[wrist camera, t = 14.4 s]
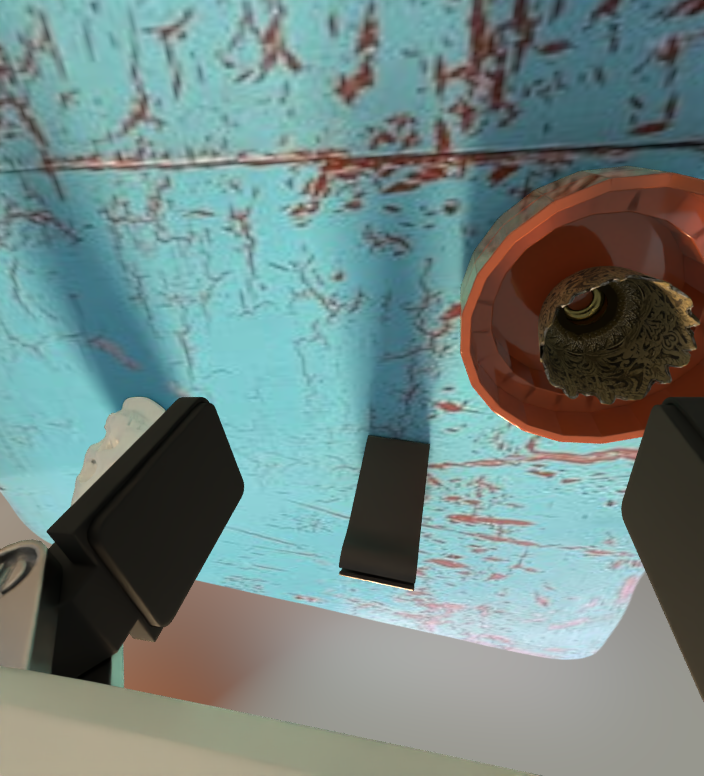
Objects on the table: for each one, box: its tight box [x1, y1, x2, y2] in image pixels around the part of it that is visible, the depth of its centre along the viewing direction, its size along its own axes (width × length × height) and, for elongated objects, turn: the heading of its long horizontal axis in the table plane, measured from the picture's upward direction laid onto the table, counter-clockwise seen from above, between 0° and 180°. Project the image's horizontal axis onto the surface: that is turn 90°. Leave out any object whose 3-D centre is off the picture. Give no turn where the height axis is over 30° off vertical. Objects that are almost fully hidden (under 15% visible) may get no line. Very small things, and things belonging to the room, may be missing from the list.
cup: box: [538, 266, 701, 405], centre depth 25 cm, size 8×7×8 cm
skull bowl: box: [71, 397, 166, 506], centre depth 44 cm, size 10×14×12 cm
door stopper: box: [339, 435, 430, 591], centre depth 36 cm, size 9×6×12 cm, turn 179°
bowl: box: [460, 166, 704, 444], centre depth 26 cm, size 16×16×6 cm
